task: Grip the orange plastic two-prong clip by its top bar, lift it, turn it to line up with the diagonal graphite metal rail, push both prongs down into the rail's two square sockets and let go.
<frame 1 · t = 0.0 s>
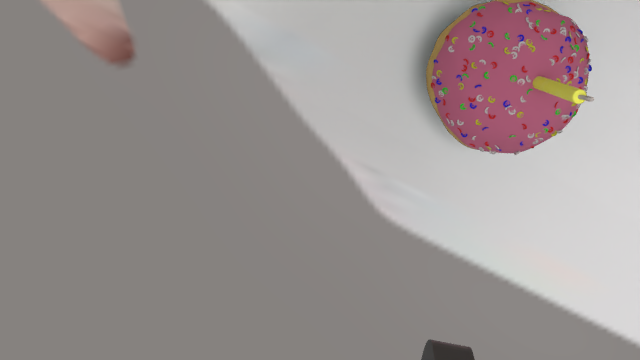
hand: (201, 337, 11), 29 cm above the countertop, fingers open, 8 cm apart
cupcake: (491, 65, 38), on the countertop
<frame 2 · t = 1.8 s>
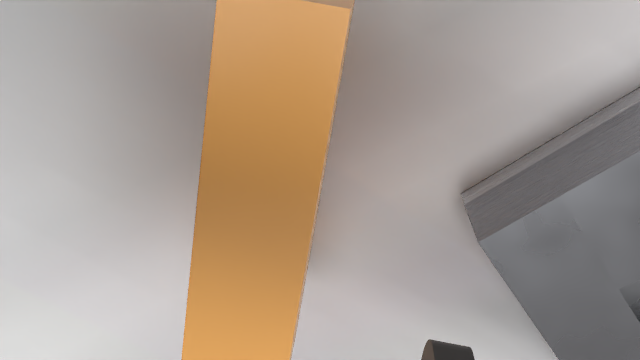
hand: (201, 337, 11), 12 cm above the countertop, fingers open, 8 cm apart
clip: (289, 141, 22), on the countertop
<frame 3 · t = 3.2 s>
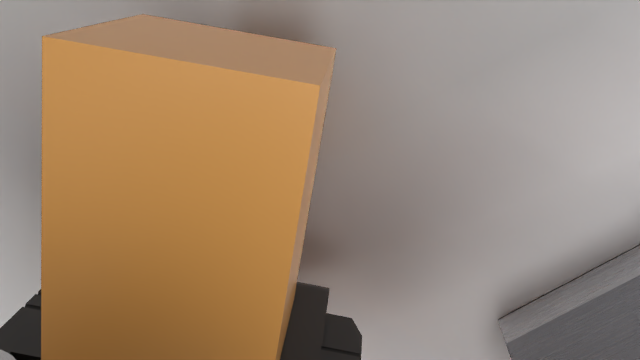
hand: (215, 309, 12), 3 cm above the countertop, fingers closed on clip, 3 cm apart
clip: (247, 241, 15), on the countertop, touching gripper
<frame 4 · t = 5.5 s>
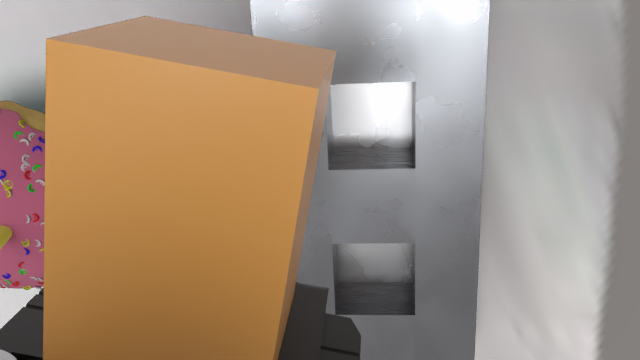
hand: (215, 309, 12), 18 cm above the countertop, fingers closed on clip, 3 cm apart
rail: (373, 175, 30), on the countertop
clip: (247, 240, 15), point 15 cm above the countertop, touching gripper
cupcake: (62, 165, 31), on the countertop
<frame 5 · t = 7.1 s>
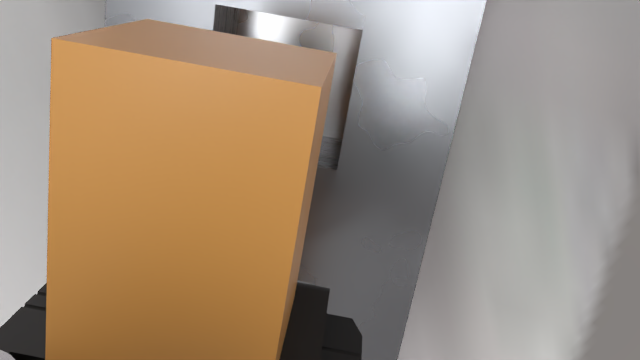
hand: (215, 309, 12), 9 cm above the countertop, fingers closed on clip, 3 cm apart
rail: (281, 170, 20), on the countertop
clip: (247, 244, 15), point 6 cm above the countertop, touching gripper
when the fingers open (5 cm above the countertop, at t = 8.1 s): clip stays where it is, resting on rail.
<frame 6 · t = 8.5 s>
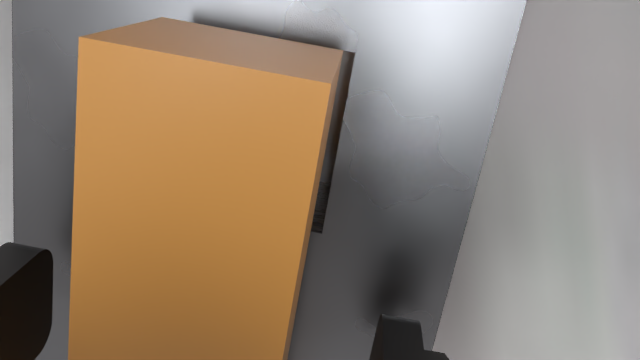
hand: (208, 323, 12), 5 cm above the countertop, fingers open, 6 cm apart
rail: (258, 216, 16), on the countertop
clip: (253, 234, 16), point 1 cm above the countertop, touching rail
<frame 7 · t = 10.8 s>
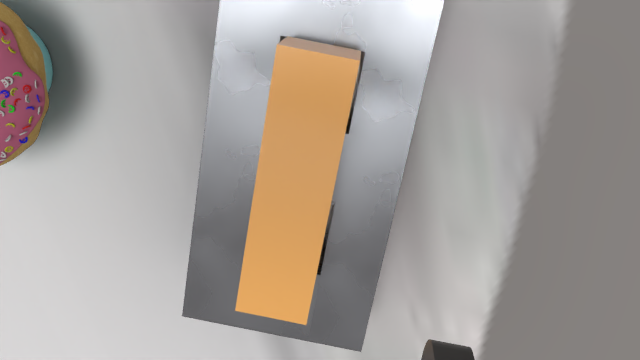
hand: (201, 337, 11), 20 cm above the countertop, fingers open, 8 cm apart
rail: (310, 139, 31), on the countertop
clip: (309, 146, 30), point 1 cm above the countertop, touching rail
cupcake: (8, 65, 31), on the countertop
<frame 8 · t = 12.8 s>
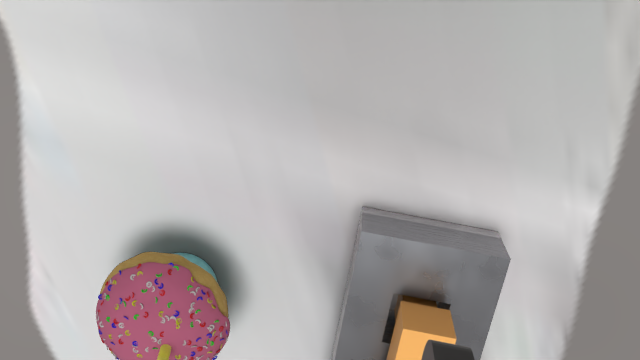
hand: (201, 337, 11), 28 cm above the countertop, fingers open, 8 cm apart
rail: (401, 334, 43), on the countertop
clip: (402, 343, 42), point 1 cm above the countertop, touching rail
cupcake: (184, 281, 43), on the countertop
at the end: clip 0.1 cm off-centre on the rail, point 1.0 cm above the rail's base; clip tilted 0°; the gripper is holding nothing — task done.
